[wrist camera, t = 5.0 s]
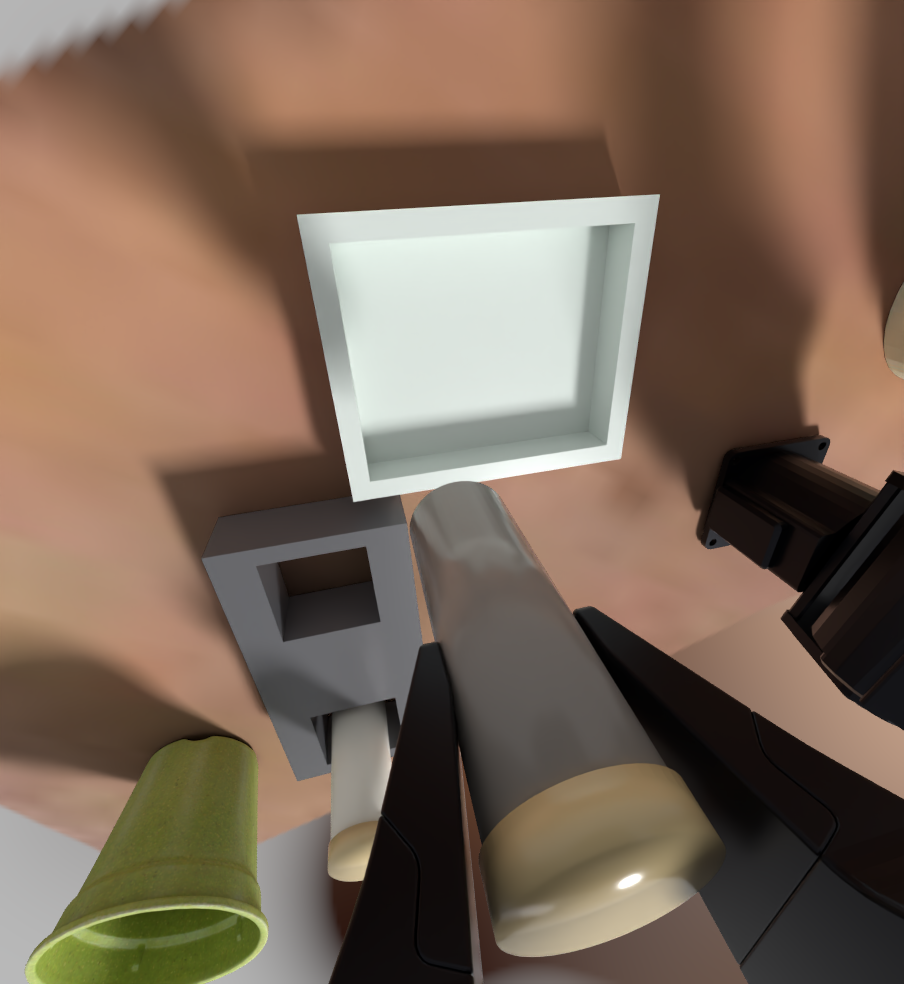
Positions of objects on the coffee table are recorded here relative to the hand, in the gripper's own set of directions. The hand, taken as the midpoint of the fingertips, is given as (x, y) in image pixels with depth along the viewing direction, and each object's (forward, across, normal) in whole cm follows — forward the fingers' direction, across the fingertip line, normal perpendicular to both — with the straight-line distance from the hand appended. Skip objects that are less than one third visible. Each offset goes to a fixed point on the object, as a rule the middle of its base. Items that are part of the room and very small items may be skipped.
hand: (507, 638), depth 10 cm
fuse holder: (+12, +6, +10) cm, 17 cm away
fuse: (+12, +6, +15) cm, 20 cm away
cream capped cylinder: (+4, 0, 0) cm, 4 cm away
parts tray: (+12, -3, -3) cm, 13 cm away
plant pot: (+12, +16, +19) cm, 28 cm away
